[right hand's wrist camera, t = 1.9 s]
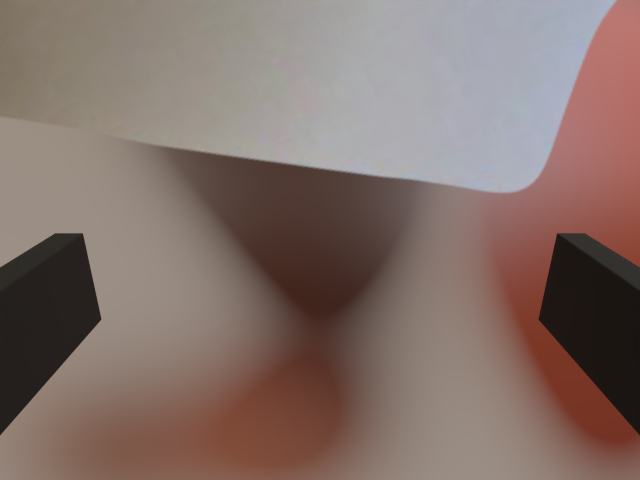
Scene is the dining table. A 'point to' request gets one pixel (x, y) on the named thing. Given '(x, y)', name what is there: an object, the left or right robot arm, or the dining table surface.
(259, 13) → the dining table surface
